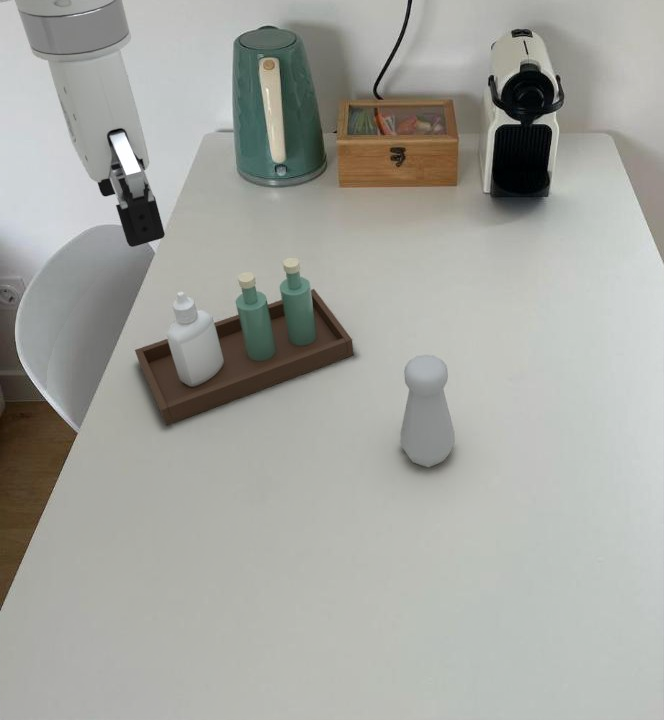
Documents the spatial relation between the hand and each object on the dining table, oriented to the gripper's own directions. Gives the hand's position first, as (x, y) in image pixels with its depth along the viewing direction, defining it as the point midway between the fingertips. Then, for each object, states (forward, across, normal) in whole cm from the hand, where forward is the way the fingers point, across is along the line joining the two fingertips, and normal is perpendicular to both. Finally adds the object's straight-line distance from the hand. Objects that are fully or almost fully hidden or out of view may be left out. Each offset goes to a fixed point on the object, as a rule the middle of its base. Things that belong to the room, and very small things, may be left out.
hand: (132, 215), depth 74 cm
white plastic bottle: (+27, -6, +4) cm, 28 cm away
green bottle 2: (+26, -6, +17) cm, 32 cm away
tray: (+27, -6, +9) cm, 29 cm away
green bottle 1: (+26, -6, +11) cm, 29 cm away
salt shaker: (+27, +18, +21) cm, 39 cm away
